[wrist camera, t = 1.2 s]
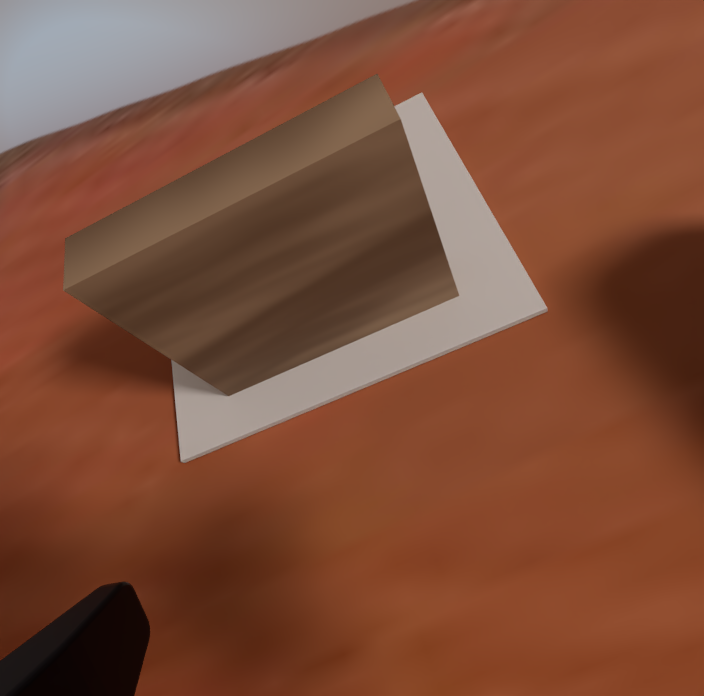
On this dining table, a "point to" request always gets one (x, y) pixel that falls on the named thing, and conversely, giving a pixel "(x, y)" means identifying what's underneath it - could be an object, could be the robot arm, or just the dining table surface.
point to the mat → (398, 339)
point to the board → (272, 247)
